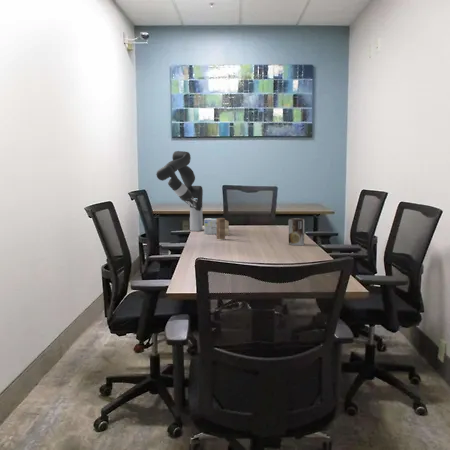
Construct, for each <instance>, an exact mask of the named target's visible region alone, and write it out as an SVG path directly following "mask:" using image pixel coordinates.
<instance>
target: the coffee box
mask: <svg viewBox="0 0 450 450" xmlns="http://www.w3.org/2000/svg"><path fill="white" fill-rule="evenodd" d="M305 222H306V221H305V218H301V217H300V218H299V217H295V218H294V217H293V218H292V217H290V218H289V219H288V244H287V245H288V246H304V245H305Z"/></svg>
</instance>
